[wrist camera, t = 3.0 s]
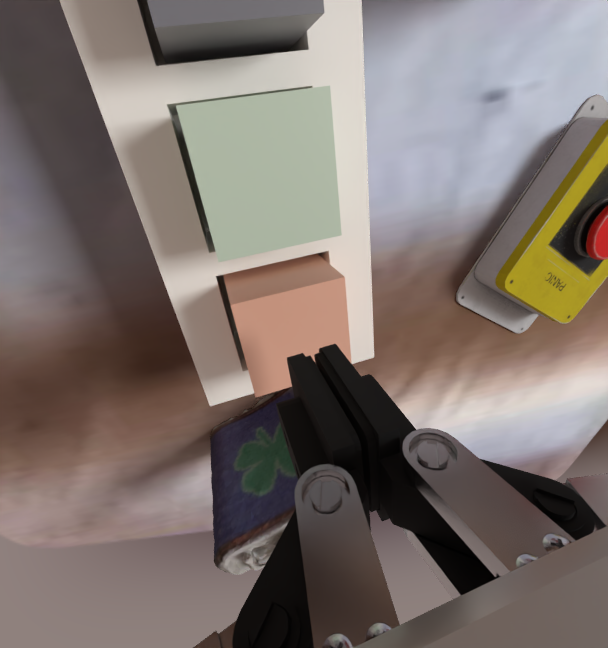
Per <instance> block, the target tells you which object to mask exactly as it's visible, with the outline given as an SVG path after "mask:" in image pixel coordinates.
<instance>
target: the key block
mask: <svg viewBox="0 0 608 648" xmlns="http://www.w3.org/2000/svg"><path fill="white" fill-rule="evenodd" d="M59 1H60V3H61V6H62V9H63V11H64V14H65V17H66V19H67V22H68V25H69V28H70V30H71V33H72V36H73V38H74V41H75V44H76V46H77V49H78V52H79V55H80V57H81V60H82V63H83V65H84V68H85V71H86V73H87V76H88V79H89V81H90V84H91V87H92V90H93V92H94V95H95V98H96V100H97V103H98V106H99V108H100V111H101V114H102V116H103V119H104V122H105V125H106V127H107V130H108V133H109V135H110V138H111V141H112V143H113V146H114V149H115V152H116V154H117V157H118V160H119V162H120V165H121V168H122V170H123V173H124V176H125V178H126V181H127V184H128V187H129V189H130V192H131V195H132V197H133V200H134V203H135V205H136V208H137V211H138V213H139V216H140V219H141V222H142V224H143V227H144V230H145V232H146V235H147V238H148V240H149V243H150V246H151V249H152V251H153V254H154V257H155V259H156V262H157V265H158V267H159V270H160V273H161V275H162V278H163V281H164V284H165V286H166V289H167V292H168V294H169V297H170V300H171V302H172V305H173V308H174V310H175V313H176V316H177V319H178V321H179V324H180V327H181V329H182V332H183V335H184V337H185V340H186V343H187V346H188V348H189V351H190V354H191V356H192V359H193V362H194V364H195V367H196V370H197V372H198V375H199V378H200V381H201V383H202V386H203V389H204V391H205V394H206V397H207V399H208V402H209V405H210V406H213V405H216V404H220V403H223V402H226V401H230V400H233V399H236V398H240V397H243V396H246V395H250V394H253V393H254V390H253V386H252V382H251V379H250V375H249V371H248V368H247V364H246V360H245V357H244V353H243V349H242V346H241V342H240V339H239V335H238V331H237V328H236V324H235V320H234V317H233V313H232V309H231V306H230V302H229V297H228V293H227V289H226V285H225V281H224V277H223V275H224V274H228V273H232V272H237V271H241V270H246V269H250V268H254V267H259V266H263V265H268V264H272V263H276V262H281V261H285V260H290V259H294V258H298V257H303V256H307V255H312V254H316V253H317V254H318V255H319V256H321V257H322V258H323V259H324V260H325V261H327V262H328V263H329V264H330V265H331V266H332V267H334V268H335V269H336V270H337V271H338V272H340V273H341V274H342V275H343V276H344V277H345V285H346V298H347V311H348V324H349V336H350V349H351V362H352V364H354V363H357V362H360V361H364V360H367V359H370V358H374V338H373V310H372V281H371V253H370V224H369V195H368V167H367V138H366V109H365V81H364V52H363V23H362V0H323V1H324V14H323V15H322V16H321V17H320V18H319V19H318V20H317V21H316V22H315V23H314V24H313V25H312V26H311V27H310V28H309V29H308V30H307V31H306V32H305V33H304V34H303V36H302V37H301V38H300V39H299V40H298V41H297V42H296V43H295V44H294V45H293V46H292V47H291V48H290V49H289V50H288V51H278V52H269V53H260V54H250V55H241V56H231V57H222V58H213V59H203V60H194V61H184V62H175V63H165V60H164V56H163V53H162V50H161V47H160V44H159V41H158V38H157V34H156V31H155V28H154V24H153V21H152V17H151V14H150V10H149V6H148V3H147V0H59ZM323 86H330V91H331V104H332V117H333V130H334V143H335V156H336V169H337V181H338V194H339V207H340V220H341V233H342V235H341V236H336V237H332V238H327V239H323V240H318V241H314V242H309V243H304V244H300V245H295V246H291V247H286V248H282V249H277V250H273V251H268V252H264V253H259V254H254V255H250V256H245V257H241V258H236V259H232V260H227V261H223V262H218V258H217V255H216V251H215V247H214V244H213V240H212V236H211V233H210V229H209V225H208V222H207V218H206V214H205V211H204V207H203V203H202V200H201V196H200V192H199V189H198V185H197V181H196V178H195V174H194V171H193V167H192V163H191V160H190V156H189V152H188V149H187V145H186V141H185V138H184V134H183V130H182V127H181V123H180V119H179V116H178V112H177V108H176V105H184V104H192V103H200V102H207V101H215V100H223V99H230V98H238V97H246V96H253V95H261V94H269V93H277V92H284V91H292V90H300V89H307V88H315V87H323Z"/></svg>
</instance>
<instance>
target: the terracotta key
mask: <svg viewBox="0 0 608 648" xmlns="http://www.w3.org/2000/svg"><path fill="white" fill-rule="evenodd" d="M223 277H224V281H225V285H226V289H227V293H228V297H229V302H230V306H231V309H232V313H233V317H234V320H235V324H236V328H237V331H238V335H239V339H240V342H241V346H242V349H243V353H244V357H245V360H246V364H247V368H248V371H249V375H250V379H251V382H252V386H253V390H254V393H255V397H259V396H262V395H266V394H269V393H272V392H276V391H279V390H282V389H286V388H289V387H292V384H291V379H290V374H289V369H288V363H287V357H290V356H294V355H297V354H301V353H303V354H304V355H305V357H306V356H311V357H312V359H313V360H314V362H315V357H314V355H315V354H316V353H319V348H322V347H325V346H329V345H332V344H336V345H337V346H338V347H339V348H340V350H341V351H342V352H343V354H344V355H345V356H346V358H347V359H348V360H349V361H350V363H351V364H352V362H351V349H350V336H349V324H348V311H347V298H346V285H345V277H344V276H343V275H342V274H341V273H340V272H338V271H337V270H336V269H335V268H334V267H332V266H331V265H330V264H329V263H328V262H327V261H325V260H324V259H323V258H322V257H321V256H319V255H318V254H317V253H316V254H312V255H307V256H303V257H298V258H294V259H290V260H285V261H281V262H276V263H272V264H268V265H263V266H259V267H254V268H250V269H246V270H241V271H237V272H232V273H228V274H224V275H223Z"/></svg>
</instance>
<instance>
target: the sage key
mask: <svg viewBox="0 0 608 648" xmlns="http://www.w3.org/2000/svg"><path fill="white" fill-rule="evenodd" d="M176 108H177V112H178V116H179V119H180V123H181V127H182V130H183V134H184V138H185V141H186V145H187V149H188V152H189V156H190V160H191V163H192V167H193V171H194V174H195V178H196V181H197V185H198V189H199V192H200V196H201V200H202V203H203V207H204V211H205V214H206V218H207V222H208V225H209V229H210V233H211V236H212V240H213V244H214V247H215V251H216V255H217V258H218V262H223V261H227V260H232V259H236V258H241V257H245V256H250V255H254V254H259V253H264V252H268V251H273V250H277V249H282V248H286V247H291V246H295V245H300V244H304V243H309V242H314V241H318V240H323V239H327V238H332V237H336V236H341V235H342V233H341V220H340V207H339V194H338V181H337V169H336V156H335V143H334V130H333V117H332V104H331V91H330V86H323V87H315V88H307V89H300V90H292V91H284V92H277V93H269V94H261V95H253V96H246V97H238V98H230V99H223V100H215V101H207V102H200V103H192V104H184V105H176Z"/></svg>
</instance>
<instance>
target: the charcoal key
mask: <svg viewBox="0 0 608 648" xmlns="http://www.w3.org/2000/svg"><path fill="white" fill-rule="evenodd" d="M147 3H148V6H149V10H150V14H151V17H152V21H153V24H154V28H155V31H156V34H157V38H158V41H159V44H160V47H161V50H162V53H163V56H164V60H165V63H175V62H184V61H194V60H203V59H213V58H222V57H231V56H241V55H250V54H260V53H269V52H278V51H288V50H289V49H290V48H291V47H292V46H293V45H294V44H295V43H296V42H297V41H298V40H299V39H300V38H301V37H302V36H303V34H304V33H305V32H306V31H307V30H308V29H309V28H310V27H311V26H312V25H313V24H314V23H315V22H316V21H317V20H318V19H319V18H320V17H321V16H322V15H323V14H324V1H323V0H147Z"/></svg>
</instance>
